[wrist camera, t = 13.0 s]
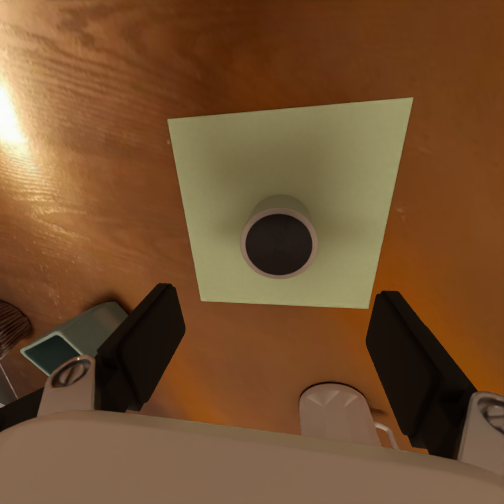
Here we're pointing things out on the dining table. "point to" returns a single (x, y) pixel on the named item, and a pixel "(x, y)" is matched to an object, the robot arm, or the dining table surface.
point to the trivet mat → (291, 194)
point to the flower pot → (75, 337)
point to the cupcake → (11, 327)
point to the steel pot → (279, 238)
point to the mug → (339, 416)
